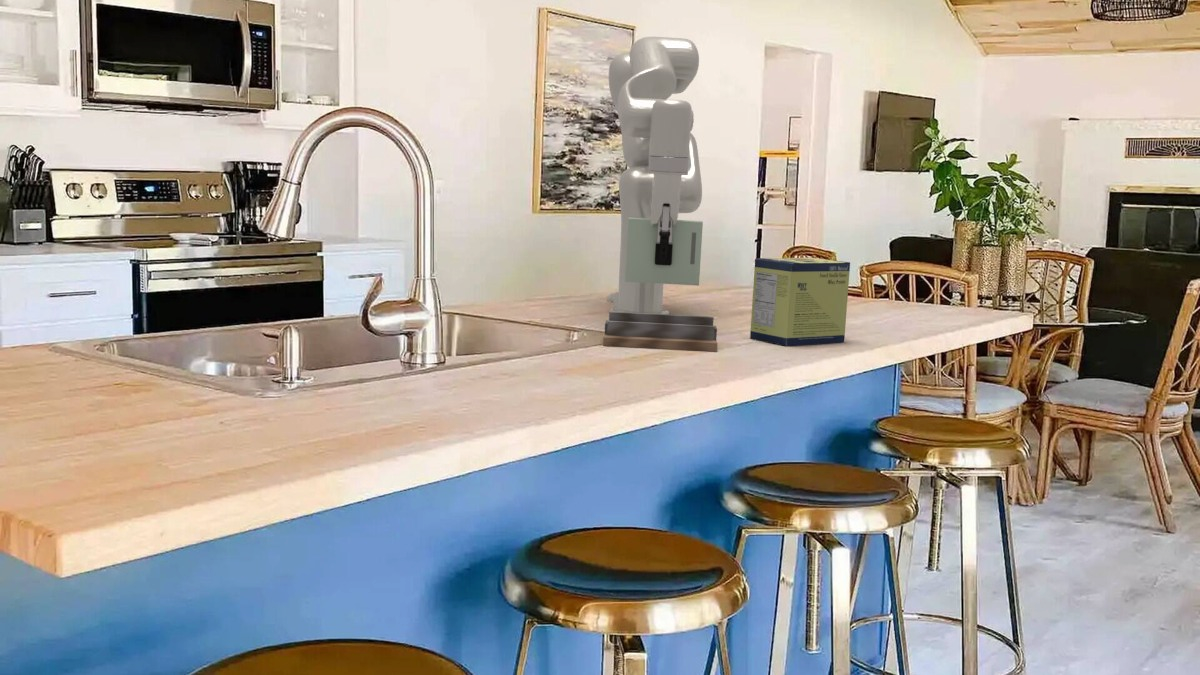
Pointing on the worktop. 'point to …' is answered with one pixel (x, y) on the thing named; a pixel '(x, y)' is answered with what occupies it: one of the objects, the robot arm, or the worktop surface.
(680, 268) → the door panel
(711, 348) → the door track
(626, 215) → the robot arm
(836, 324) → the protein box
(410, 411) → the worktop surface
